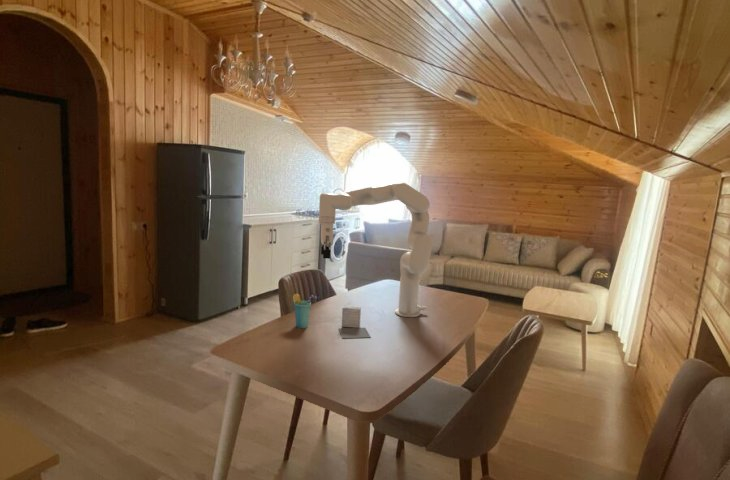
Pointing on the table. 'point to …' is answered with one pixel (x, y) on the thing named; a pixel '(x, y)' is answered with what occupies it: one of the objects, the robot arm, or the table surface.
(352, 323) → the medicine box
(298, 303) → the cup
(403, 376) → the table surface
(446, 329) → the table surface
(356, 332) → the mat
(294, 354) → the table surface
